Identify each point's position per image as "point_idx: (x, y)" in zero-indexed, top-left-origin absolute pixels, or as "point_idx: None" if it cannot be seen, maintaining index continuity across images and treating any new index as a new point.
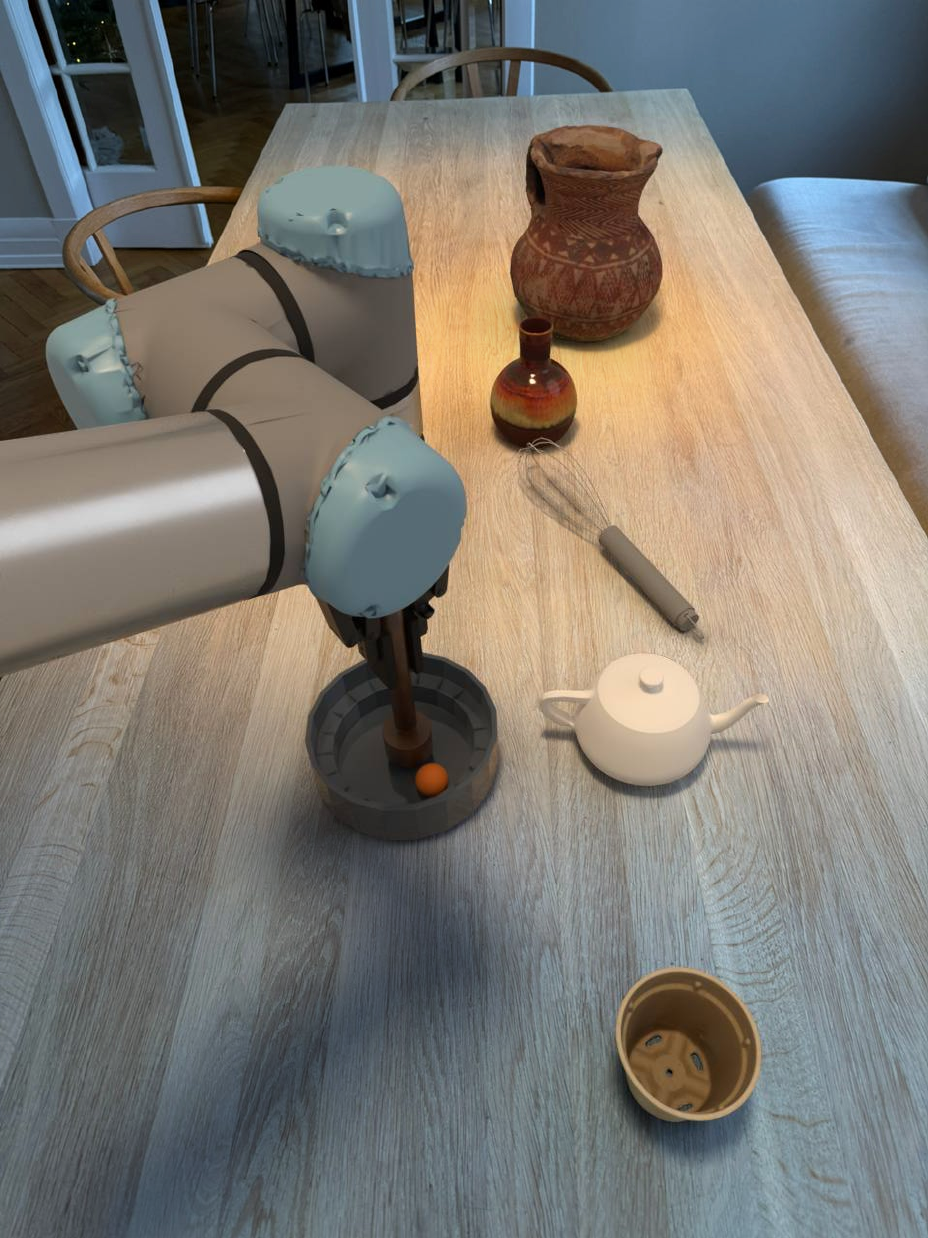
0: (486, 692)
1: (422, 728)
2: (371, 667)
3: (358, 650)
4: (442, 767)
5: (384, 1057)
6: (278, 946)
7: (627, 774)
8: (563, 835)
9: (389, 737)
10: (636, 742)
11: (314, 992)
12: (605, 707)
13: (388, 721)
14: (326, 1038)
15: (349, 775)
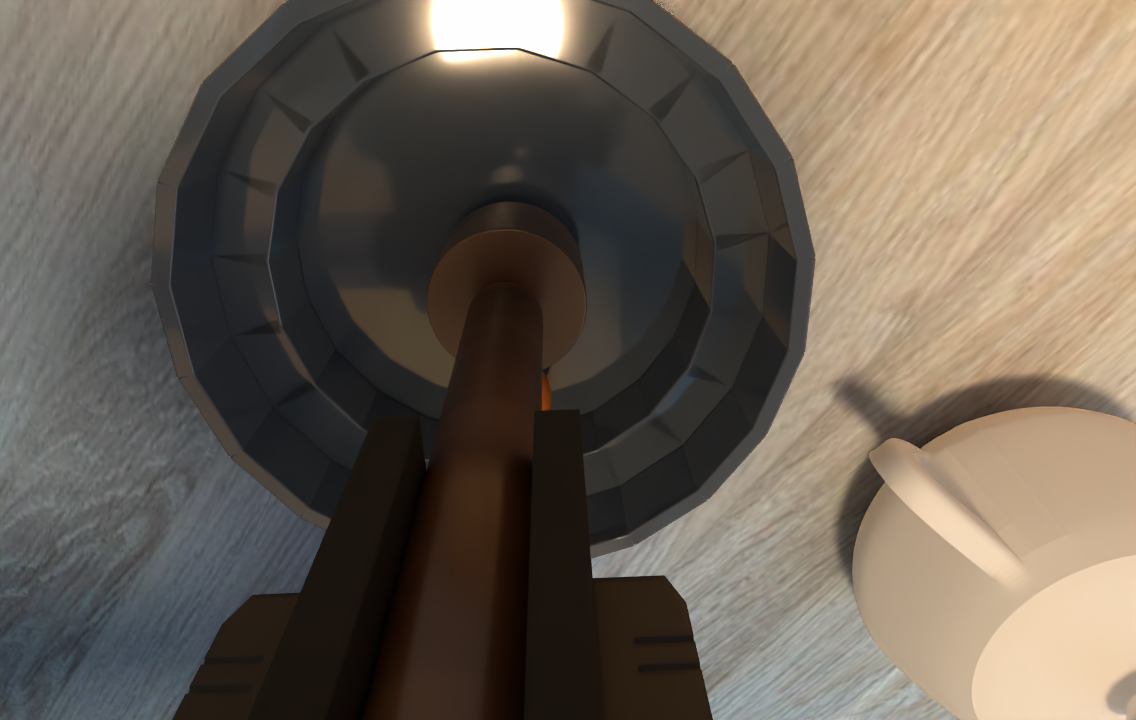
0: (791, 369)
1: (550, 334)
2: (369, 428)
3: (214, 639)
4: (543, 406)
5: (176, 702)
6: (34, 475)
7: (879, 647)
8: (683, 584)
9: (443, 302)
10: (953, 711)
11: (87, 577)
12: (989, 646)
13: (470, 250)
14: (88, 642)
15: (328, 217)
